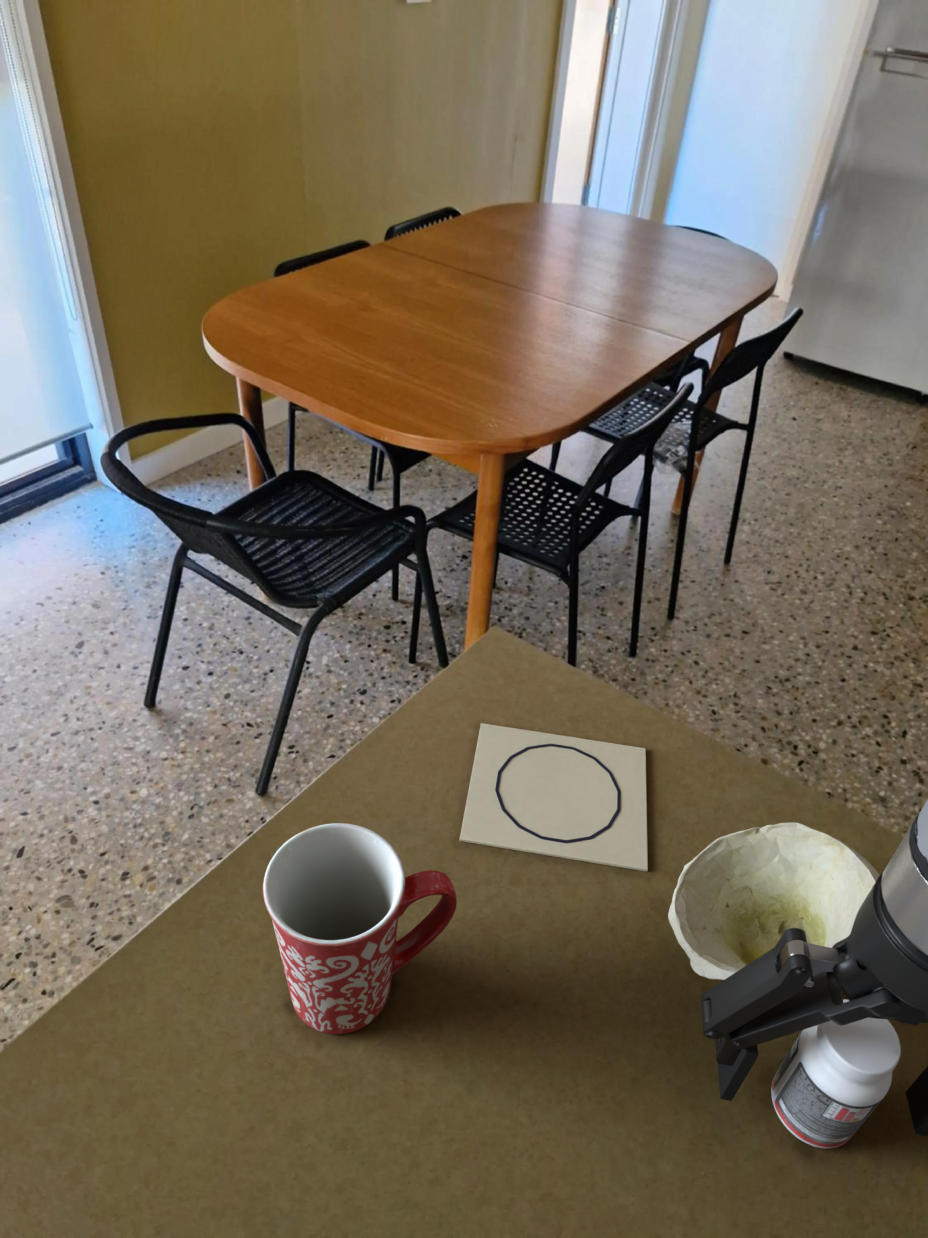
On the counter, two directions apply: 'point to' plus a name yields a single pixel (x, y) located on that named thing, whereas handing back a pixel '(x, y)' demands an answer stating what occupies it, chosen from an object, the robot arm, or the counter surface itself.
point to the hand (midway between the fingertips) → (819, 1096)
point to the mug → (346, 921)
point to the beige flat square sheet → (558, 797)
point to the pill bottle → (835, 1079)
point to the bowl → (766, 895)
